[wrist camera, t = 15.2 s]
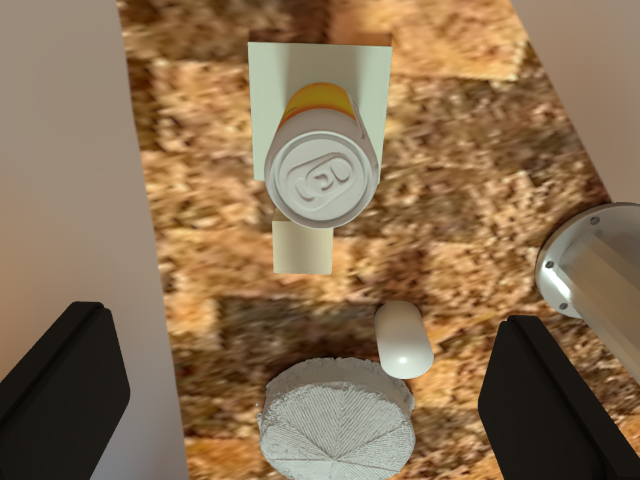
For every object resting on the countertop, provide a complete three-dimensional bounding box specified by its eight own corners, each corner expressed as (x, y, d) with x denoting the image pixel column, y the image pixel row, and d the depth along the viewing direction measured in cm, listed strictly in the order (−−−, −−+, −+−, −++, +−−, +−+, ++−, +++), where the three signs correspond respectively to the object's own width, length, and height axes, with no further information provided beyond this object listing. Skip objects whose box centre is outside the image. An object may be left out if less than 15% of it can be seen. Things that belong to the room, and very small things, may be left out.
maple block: (332, 199, 39) (333, 222, 34) (330, 247, 41) (331, 274, 37) (278, 198, 39) (272, 221, 34) (279, 245, 41) (273, 273, 37)
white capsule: (424, 300, 44) (437, 339, 39) (417, 338, 46) (429, 379, 41) (376, 299, 44) (383, 338, 39) (371, 337, 46) (378, 378, 41)
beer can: (270, 106, 34) (237, 161, 21) (335, 65, 33) (345, 97, 19) (308, 168, 37) (301, 254, 23) (371, 133, 35) (401, 202, 22)
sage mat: (391, 46, 33) (392, 46, 32) (378, 180, 38) (379, 183, 37) (249, 41, 33) (247, 42, 32) (255, 177, 38) (254, 180, 37)
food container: (404, 464, 57) (415, 516, 51) (257, 462, 57) (250, 515, 51) (426, 350, 48) (443, 397, 42) (251, 347, 48) (242, 394, 42)
